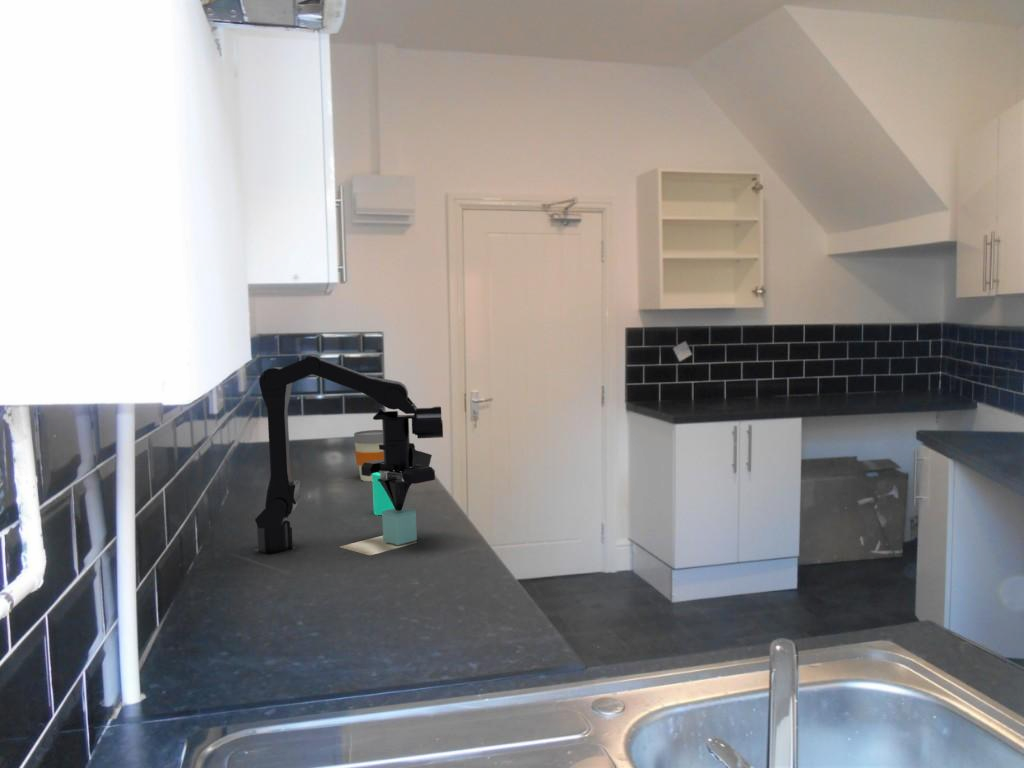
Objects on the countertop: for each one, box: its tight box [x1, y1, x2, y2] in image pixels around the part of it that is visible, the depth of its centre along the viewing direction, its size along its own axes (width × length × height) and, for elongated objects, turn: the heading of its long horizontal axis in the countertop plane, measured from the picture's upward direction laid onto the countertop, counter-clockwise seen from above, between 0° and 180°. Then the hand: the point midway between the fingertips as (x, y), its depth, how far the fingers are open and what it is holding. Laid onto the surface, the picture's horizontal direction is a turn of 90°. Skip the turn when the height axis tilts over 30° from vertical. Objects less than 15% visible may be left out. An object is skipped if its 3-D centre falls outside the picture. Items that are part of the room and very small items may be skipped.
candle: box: [371, 472, 395, 516], centre depth 209 cm, size 6×6×12 cm
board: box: [339, 535, 418, 556], centre depth 176 cm, size 13×11×1 cm
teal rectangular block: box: [381, 507, 418, 545], centre depth 177 cm, size 5×5×7 cm
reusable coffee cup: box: [353, 429, 384, 482], centre depth 259 cm, size 13×13×15 cm
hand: (398, 510), depth 177 cm, fingers closed
